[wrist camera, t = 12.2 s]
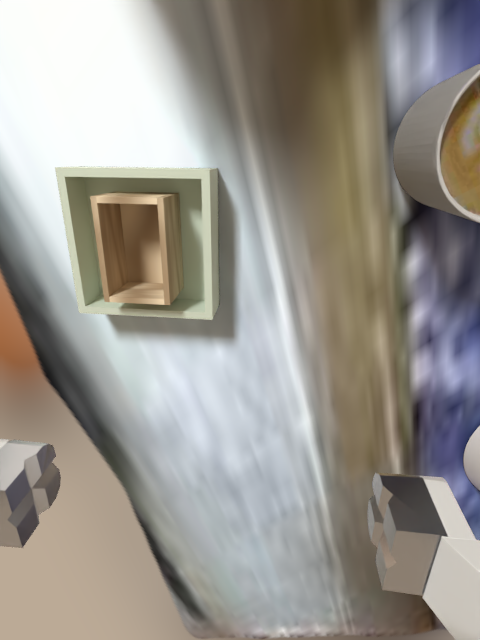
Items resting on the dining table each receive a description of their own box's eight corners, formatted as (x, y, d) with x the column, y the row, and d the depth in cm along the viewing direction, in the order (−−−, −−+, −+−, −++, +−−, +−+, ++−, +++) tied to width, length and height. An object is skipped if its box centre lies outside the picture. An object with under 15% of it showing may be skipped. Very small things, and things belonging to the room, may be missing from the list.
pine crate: (179, 192, 35) (163, 198, 30) (183, 287, 38) (170, 305, 34) (115, 191, 35) (90, 196, 31) (125, 284, 39) (104, 301, 34)
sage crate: (217, 168, 34) (209, 169, 31) (219, 304, 39) (212, 319, 36) (78, 166, 35) (55, 167, 32) (97, 298, 41) (79, 312, 37)
